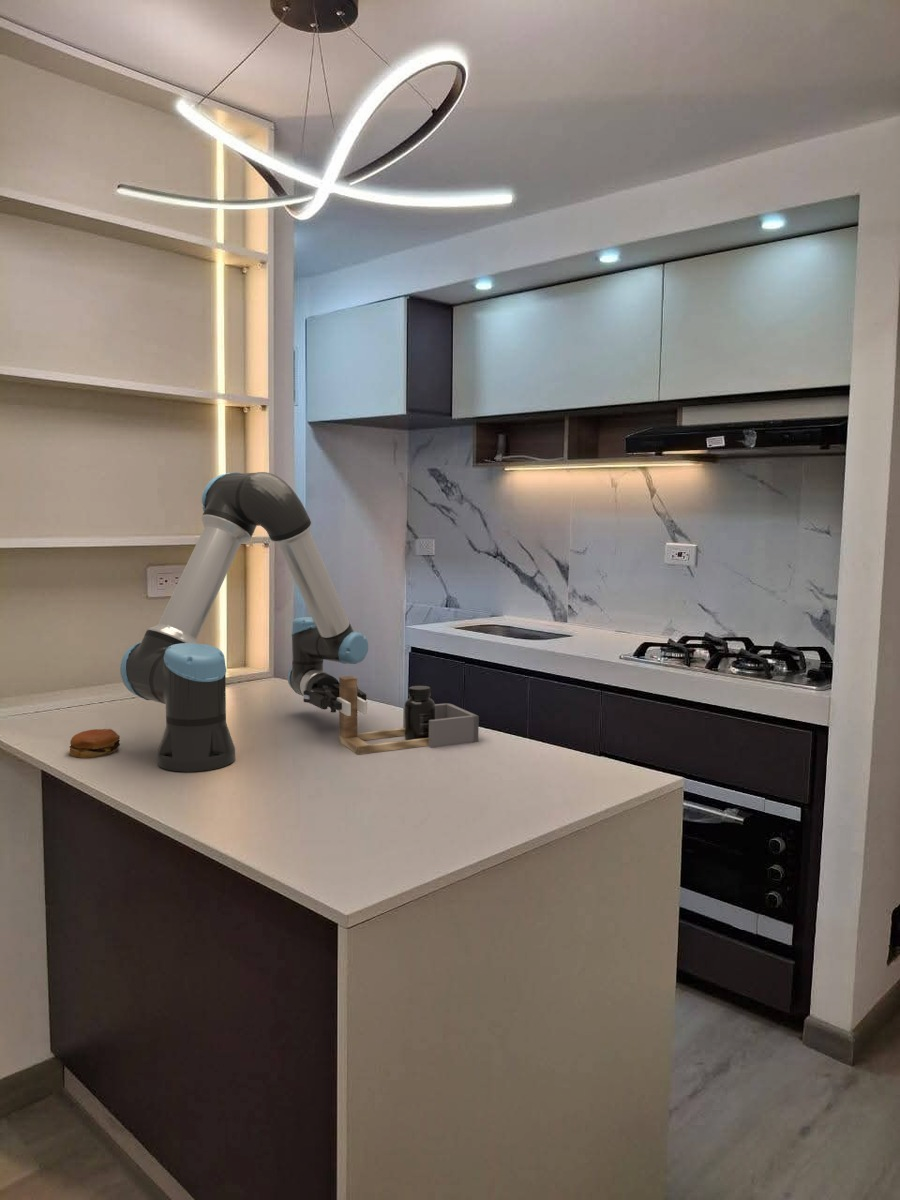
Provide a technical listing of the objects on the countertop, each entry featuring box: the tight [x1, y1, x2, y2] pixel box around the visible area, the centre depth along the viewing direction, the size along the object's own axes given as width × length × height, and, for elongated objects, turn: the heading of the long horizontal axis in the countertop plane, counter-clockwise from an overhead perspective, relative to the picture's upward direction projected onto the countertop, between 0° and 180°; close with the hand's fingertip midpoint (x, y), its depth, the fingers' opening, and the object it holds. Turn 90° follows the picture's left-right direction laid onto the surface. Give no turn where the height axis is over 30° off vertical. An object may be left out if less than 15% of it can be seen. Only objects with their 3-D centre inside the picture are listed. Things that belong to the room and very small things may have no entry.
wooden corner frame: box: [338, 675, 429, 755], centre depth 194 cm, size 22×11×14 cm, turn 118°
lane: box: [402, 702, 480, 749], centre depth 200 cm, size 12×14×6 cm
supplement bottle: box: [403, 685, 436, 741], centre depth 197 cm, size 7×7×12 cm
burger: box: [68, 728, 121, 759], centre depth 185 cm, size 10×9×5 cm
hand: (357, 708), depth 189 cm, fingers closed on wooden corner frame, 3 cm apart
